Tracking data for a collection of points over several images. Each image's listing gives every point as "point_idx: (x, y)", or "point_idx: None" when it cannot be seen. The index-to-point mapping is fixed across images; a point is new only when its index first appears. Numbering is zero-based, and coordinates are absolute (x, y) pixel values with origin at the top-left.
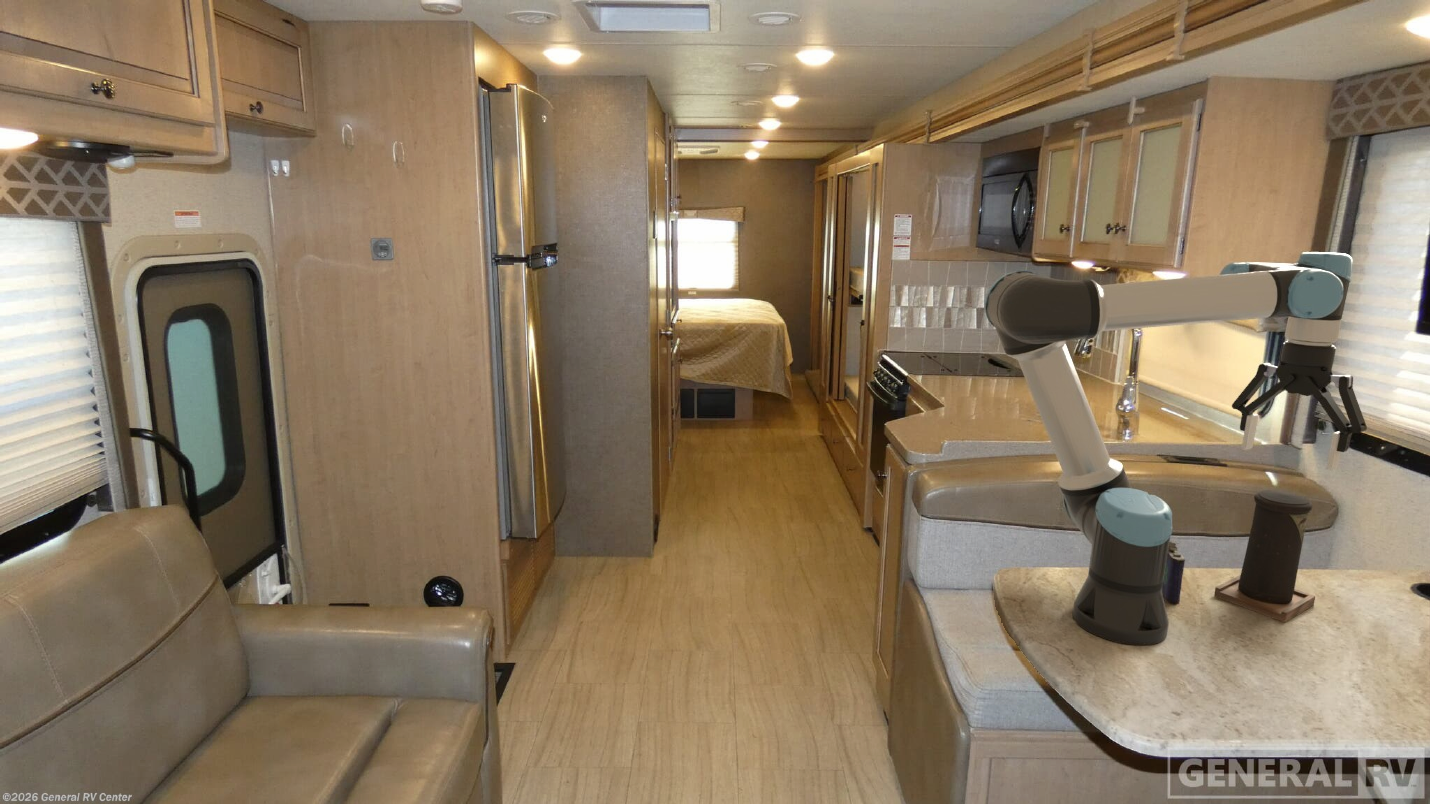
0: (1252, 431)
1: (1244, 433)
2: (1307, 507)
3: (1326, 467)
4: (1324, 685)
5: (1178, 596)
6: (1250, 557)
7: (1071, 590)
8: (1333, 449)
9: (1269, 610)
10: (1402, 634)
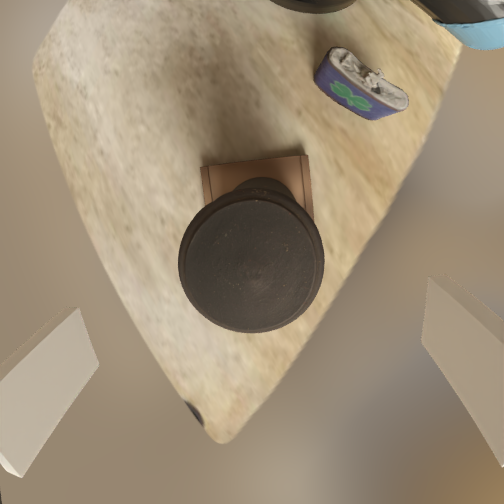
0: (469, 365)
1: (491, 312)
2: (178, 261)
3: (75, 310)
4: (100, 60)
5: (315, 73)
6: (277, 186)
7: (402, 3)
8: (15, 354)
9: (224, 164)
10: (124, 278)
